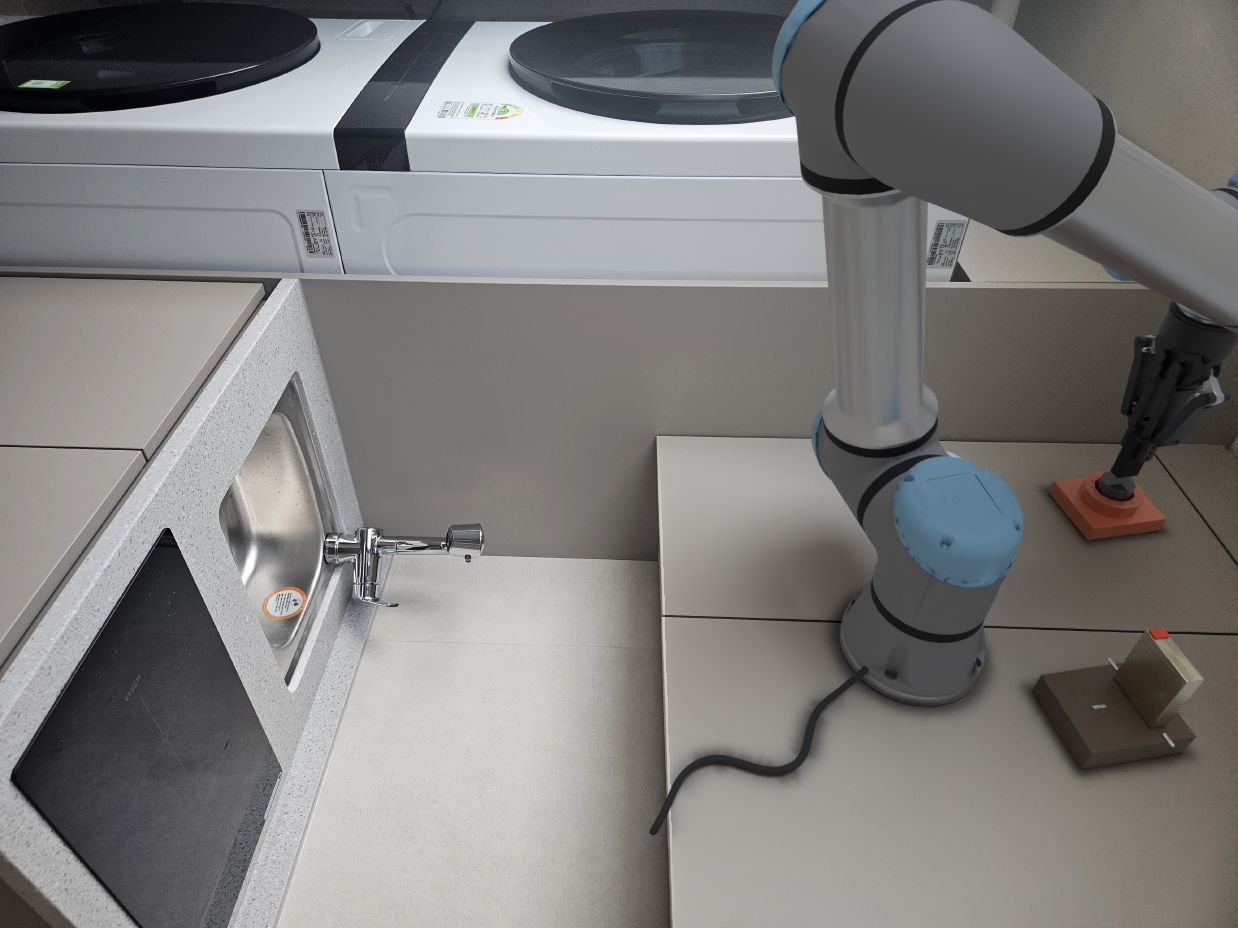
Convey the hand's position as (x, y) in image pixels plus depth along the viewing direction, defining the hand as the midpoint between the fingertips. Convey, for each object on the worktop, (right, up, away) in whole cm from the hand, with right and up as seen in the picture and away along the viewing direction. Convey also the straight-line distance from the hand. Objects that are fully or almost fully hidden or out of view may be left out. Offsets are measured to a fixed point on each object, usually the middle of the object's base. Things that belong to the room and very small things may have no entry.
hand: (1123, 473), depth 101 cm
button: (0, -2, +2) cm, 3 cm away
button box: (0, -5, +4) cm, 7 cm away
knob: (-11, -23, -20) cm, 32 cm away
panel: (-12, -25, -18) cm, 33 cm away
